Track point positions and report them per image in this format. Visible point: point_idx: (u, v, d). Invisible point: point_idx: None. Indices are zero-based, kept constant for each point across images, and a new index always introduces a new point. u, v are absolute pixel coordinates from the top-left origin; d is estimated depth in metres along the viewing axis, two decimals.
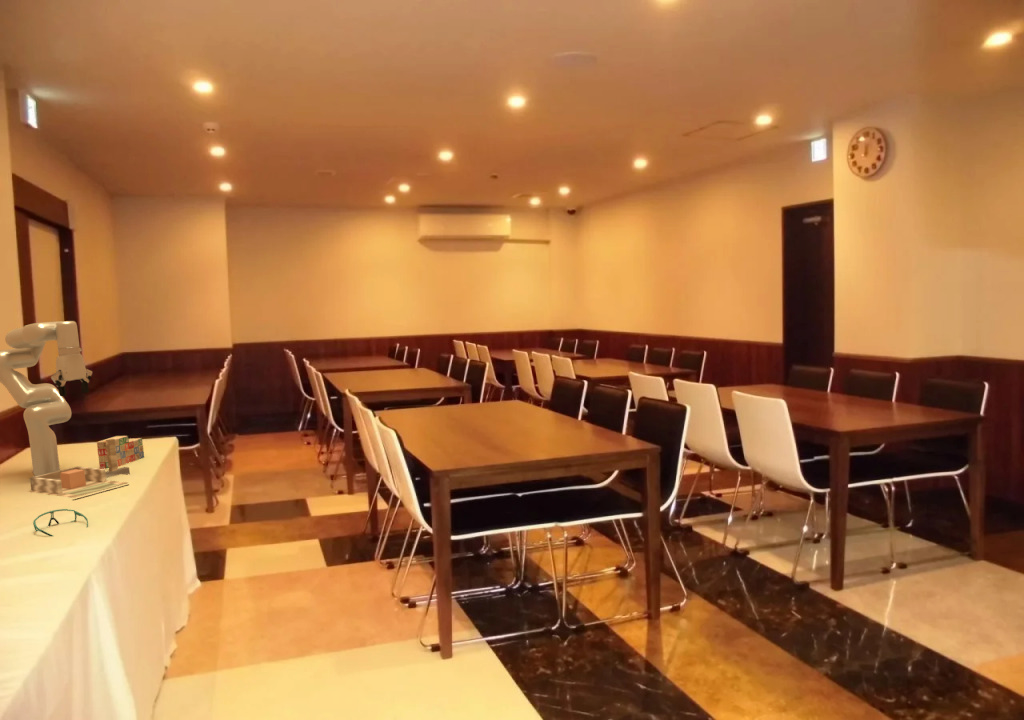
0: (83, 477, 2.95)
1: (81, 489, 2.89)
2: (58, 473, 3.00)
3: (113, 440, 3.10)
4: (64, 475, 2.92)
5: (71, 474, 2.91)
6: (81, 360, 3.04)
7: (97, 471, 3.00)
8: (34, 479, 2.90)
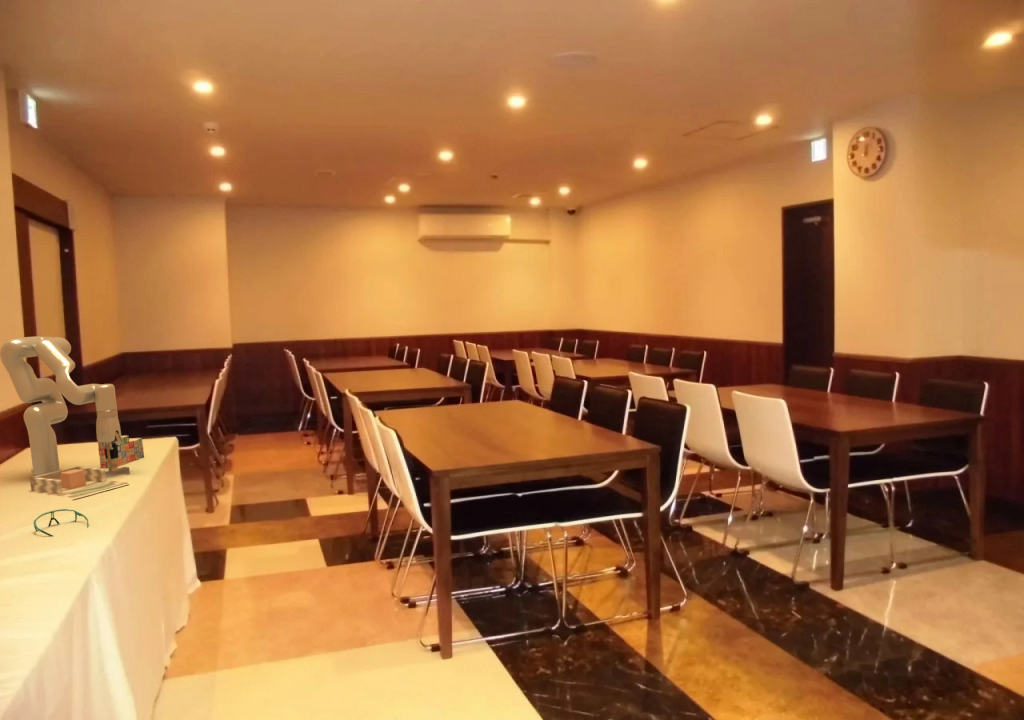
0: (83, 477, 2.95)
1: (81, 489, 2.89)
2: (58, 473, 3.00)
3: None
4: (64, 475, 2.92)
5: (71, 474, 2.91)
6: None
7: (97, 471, 3.00)
8: (34, 479, 2.90)
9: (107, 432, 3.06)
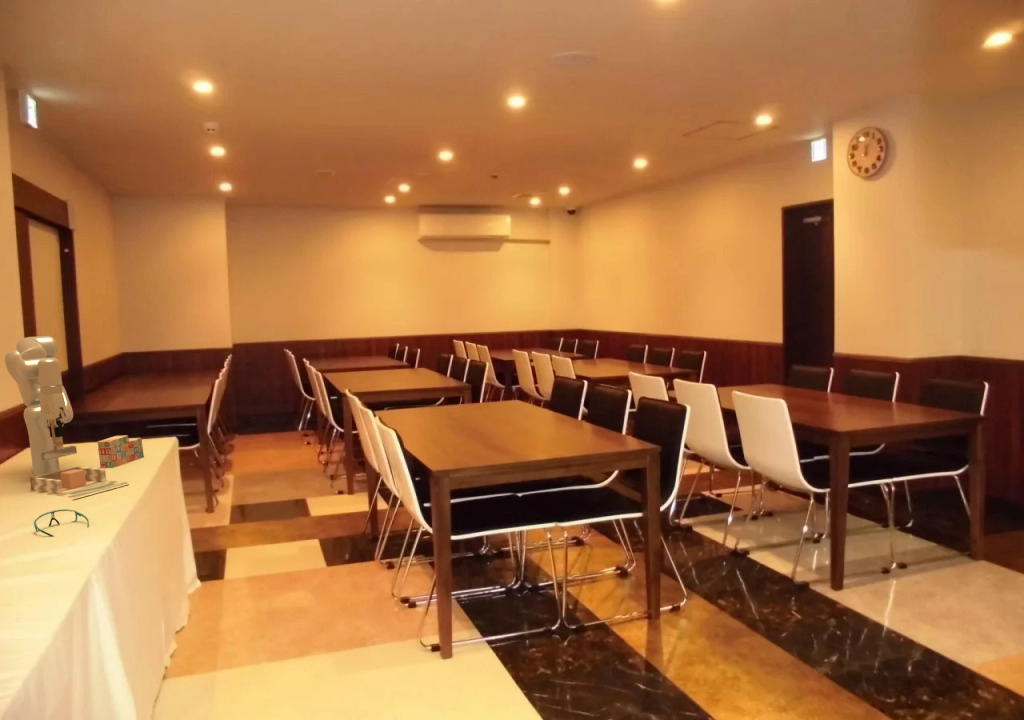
0: (83, 477, 2.95)
1: (81, 489, 2.89)
2: (58, 473, 3.00)
3: (58, 417, 2.96)
4: (64, 475, 2.92)
5: (71, 474, 2.91)
6: None
7: (97, 471, 3.00)
8: (34, 479, 2.90)
9: (51, 409, 2.92)
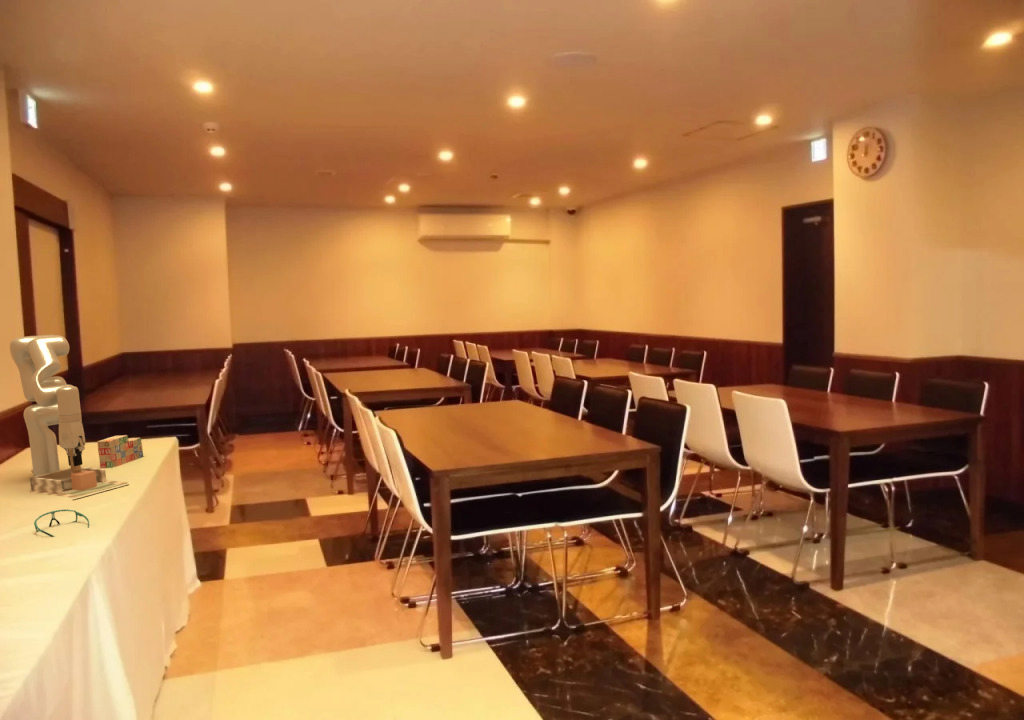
0: (94, 478, 2.92)
1: None
2: (58, 473, 3.00)
3: None
4: (75, 476, 2.88)
5: (82, 475, 2.87)
6: None
7: (97, 471, 3.00)
8: (34, 479, 2.90)
9: (70, 437, 2.88)
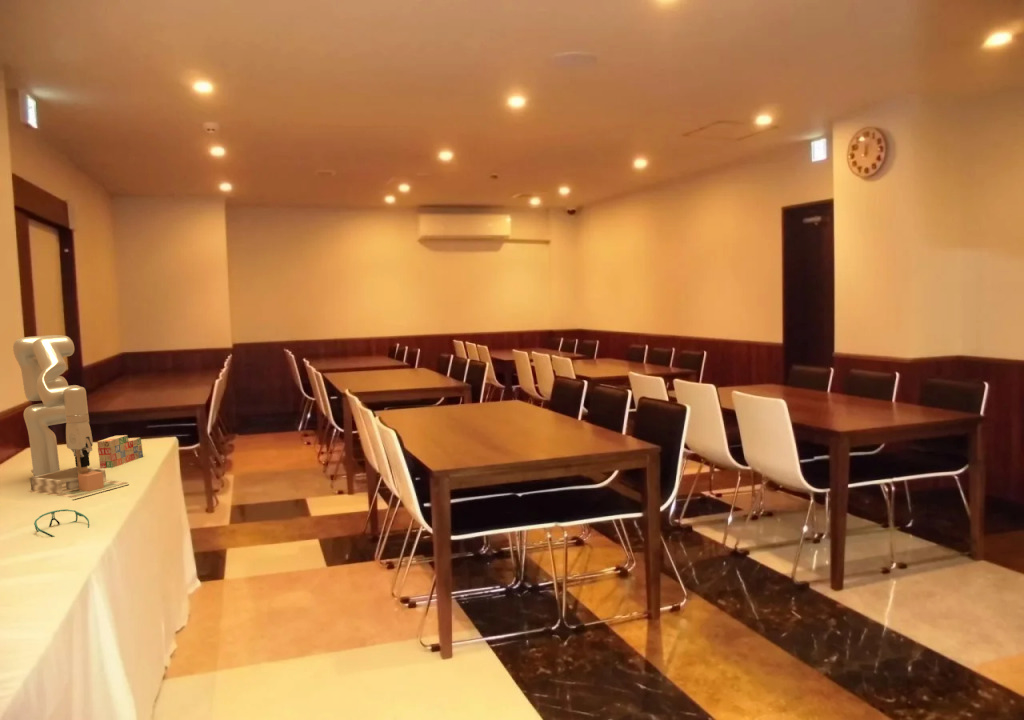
0: (101, 479, 2.89)
1: None
2: (58, 473, 3.00)
3: None
4: (82, 477, 2.86)
5: (89, 476, 2.85)
6: None
7: (97, 471, 3.00)
8: (34, 479, 2.90)
9: (77, 438, 2.86)
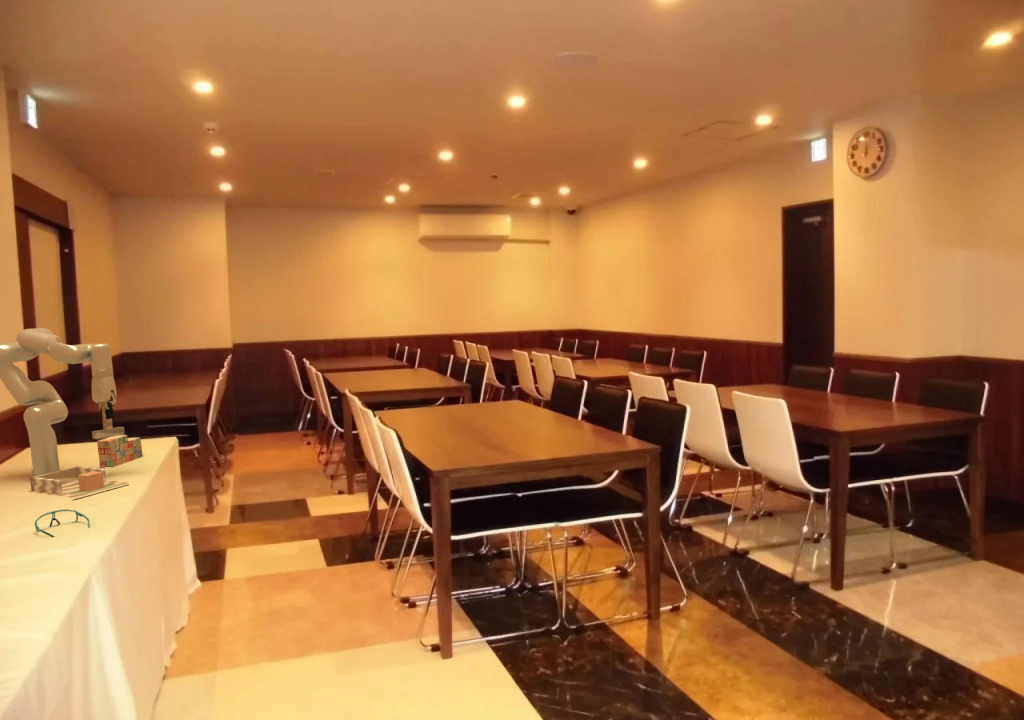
0: (101, 479, 2.89)
1: None
2: (58, 473, 3.00)
3: None
4: (82, 477, 2.86)
5: (89, 476, 2.85)
6: None
7: (97, 471, 3.00)
8: (34, 479, 2.90)
9: (102, 391, 3.04)
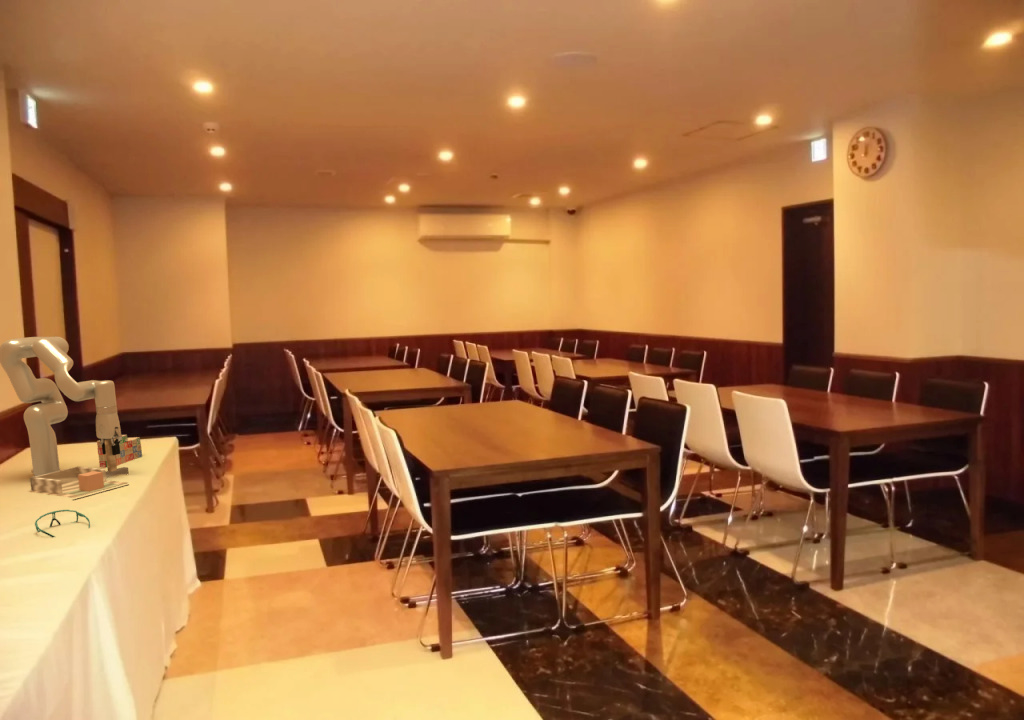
0: (101, 479, 2.89)
1: None
2: (58, 473, 3.00)
3: None
4: (82, 477, 2.86)
5: (89, 476, 2.85)
6: None
7: (97, 471, 3.00)
8: (34, 479, 2.90)
9: (107, 428, 3.06)
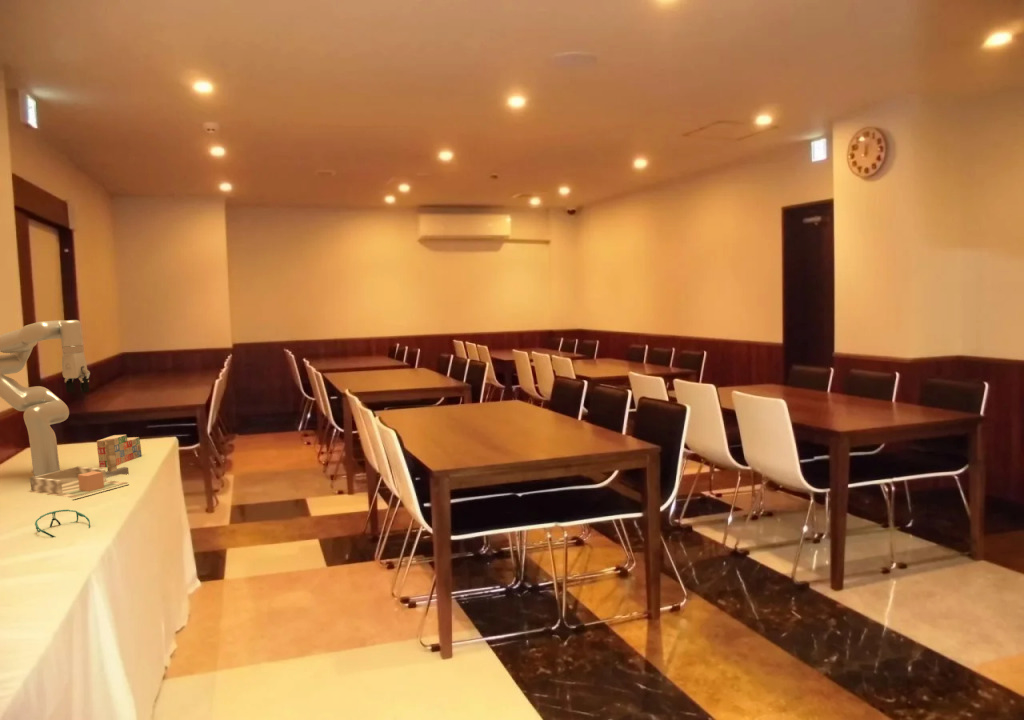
0: (101, 479, 2.89)
1: None
2: (58, 473, 3.00)
3: (112, 440, 3.10)
4: (82, 477, 2.86)
5: (89, 476, 2.85)
6: None
7: (97, 471, 3.00)
8: (34, 479, 2.90)
9: (73, 368, 3.04)
